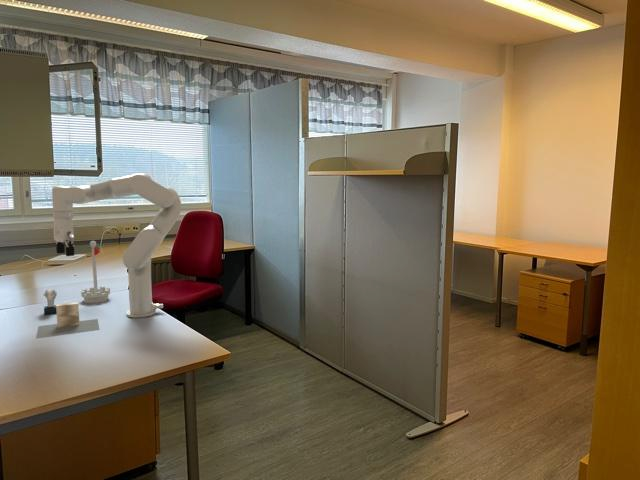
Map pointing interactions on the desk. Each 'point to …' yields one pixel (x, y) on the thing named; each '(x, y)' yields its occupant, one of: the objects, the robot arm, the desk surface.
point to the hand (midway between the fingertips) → (65, 254)
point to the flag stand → (95, 283)
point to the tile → (67, 314)
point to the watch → (50, 302)
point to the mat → (67, 328)
